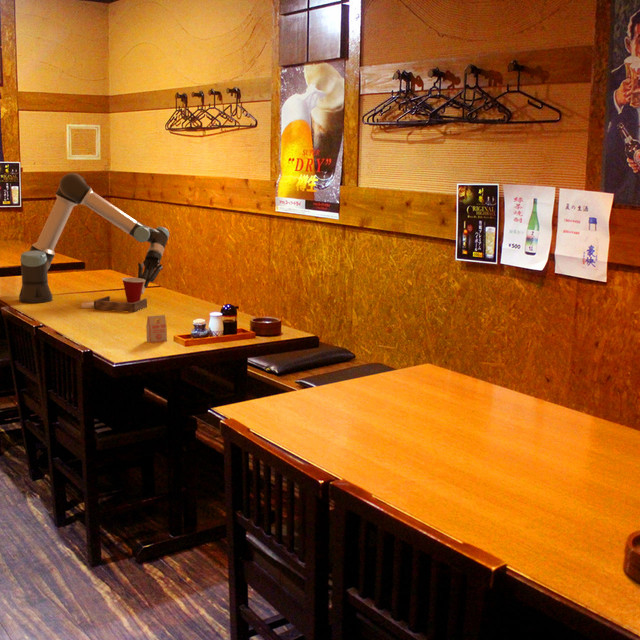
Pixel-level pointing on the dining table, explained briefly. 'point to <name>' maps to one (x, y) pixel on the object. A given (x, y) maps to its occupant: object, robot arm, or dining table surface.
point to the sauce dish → (87, 305)
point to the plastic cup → (133, 288)
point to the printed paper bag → (156, 329)
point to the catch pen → (119, 305)
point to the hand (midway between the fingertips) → (141, 292)
